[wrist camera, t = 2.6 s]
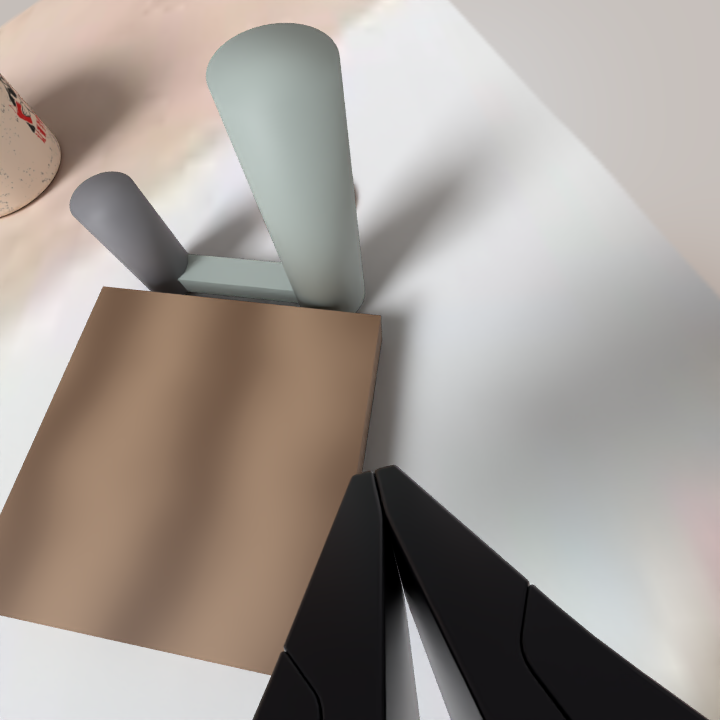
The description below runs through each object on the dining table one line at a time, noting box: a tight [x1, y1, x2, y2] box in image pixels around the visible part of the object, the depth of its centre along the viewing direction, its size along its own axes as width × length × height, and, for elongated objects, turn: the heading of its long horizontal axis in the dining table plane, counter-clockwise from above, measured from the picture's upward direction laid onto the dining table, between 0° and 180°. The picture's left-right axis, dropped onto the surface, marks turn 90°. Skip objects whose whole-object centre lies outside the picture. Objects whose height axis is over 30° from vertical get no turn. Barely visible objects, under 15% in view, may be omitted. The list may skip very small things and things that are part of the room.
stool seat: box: [0, 287, 382, 675], centre depth 20 cm, size 14×25×2 cm, turn 171°
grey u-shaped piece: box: [70, 23, 365, 313], centre depth 17 cm, size 12×4×12 cm, turn 81°
